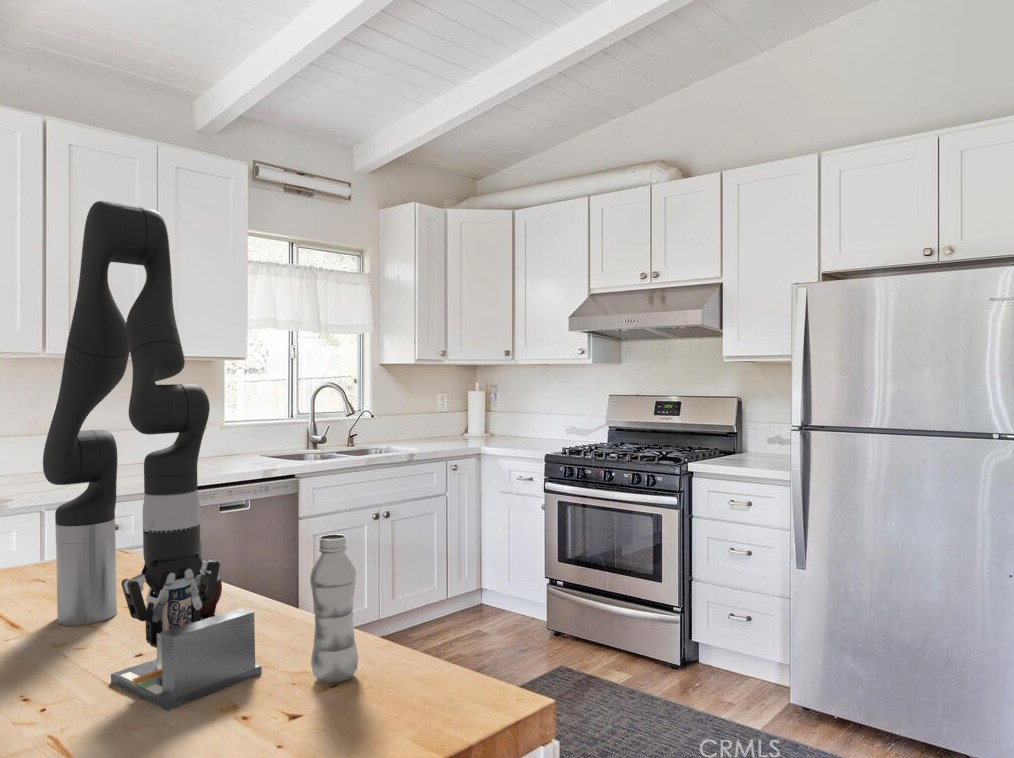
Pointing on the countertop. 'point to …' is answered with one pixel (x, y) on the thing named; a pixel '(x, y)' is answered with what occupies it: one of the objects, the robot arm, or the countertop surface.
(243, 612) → the gauge base
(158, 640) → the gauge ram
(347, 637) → the plastic bottle
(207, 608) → the mate gourd
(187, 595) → the beer can
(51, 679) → the countertop surface
